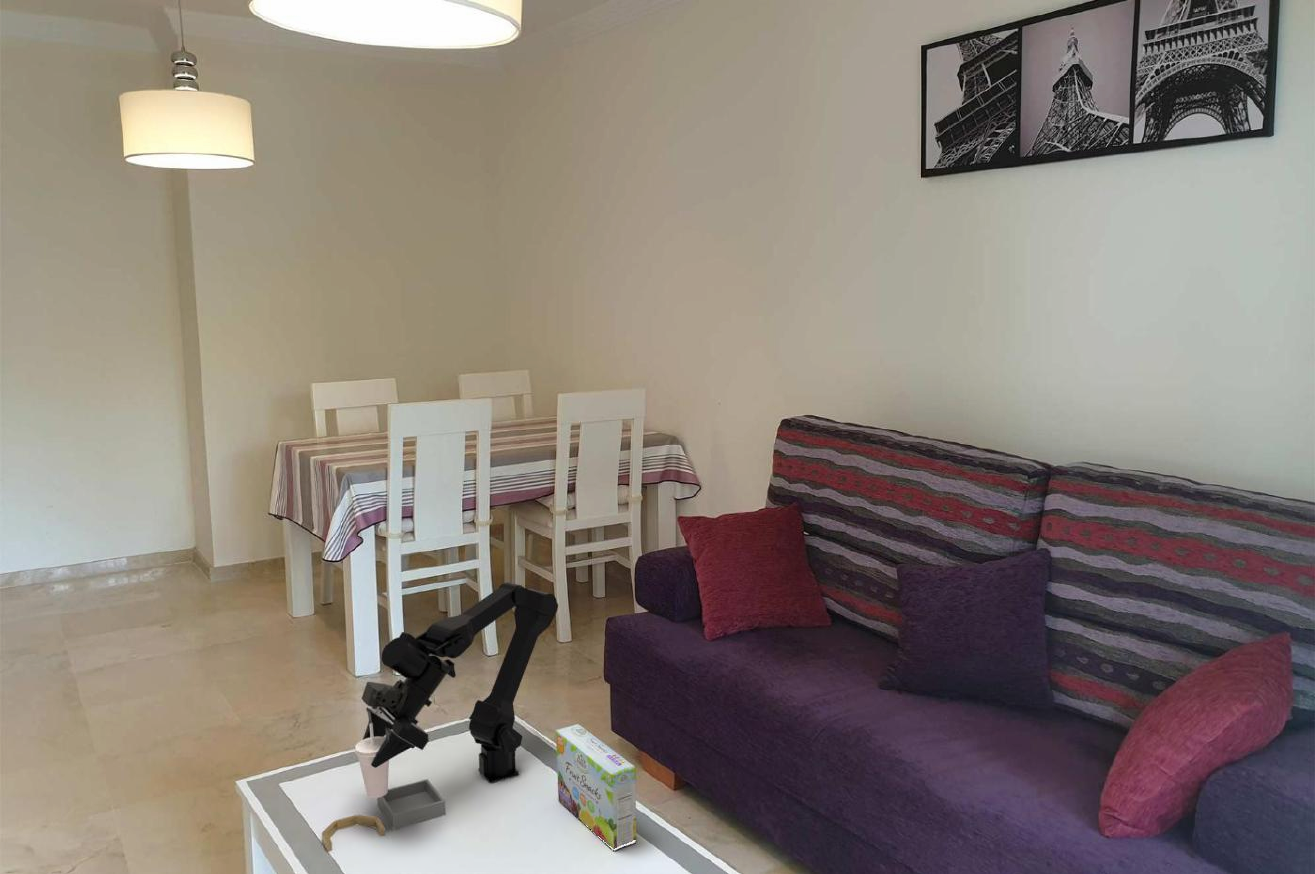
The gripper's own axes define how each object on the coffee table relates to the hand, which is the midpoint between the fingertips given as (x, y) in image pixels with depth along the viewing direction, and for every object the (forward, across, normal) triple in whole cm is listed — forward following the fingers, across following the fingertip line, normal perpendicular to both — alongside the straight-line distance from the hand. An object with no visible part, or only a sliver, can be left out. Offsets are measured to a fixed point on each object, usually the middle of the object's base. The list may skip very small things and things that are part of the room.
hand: (366, 759), depth 184 cm
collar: (+12, 0, +6) cm, 14 cm away
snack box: (-14, +22, +35) cm, 44 cm away
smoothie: (+4, 0, +6) cm, 7 cm away
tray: (+4, -1, +15) cm, 16 cm away
